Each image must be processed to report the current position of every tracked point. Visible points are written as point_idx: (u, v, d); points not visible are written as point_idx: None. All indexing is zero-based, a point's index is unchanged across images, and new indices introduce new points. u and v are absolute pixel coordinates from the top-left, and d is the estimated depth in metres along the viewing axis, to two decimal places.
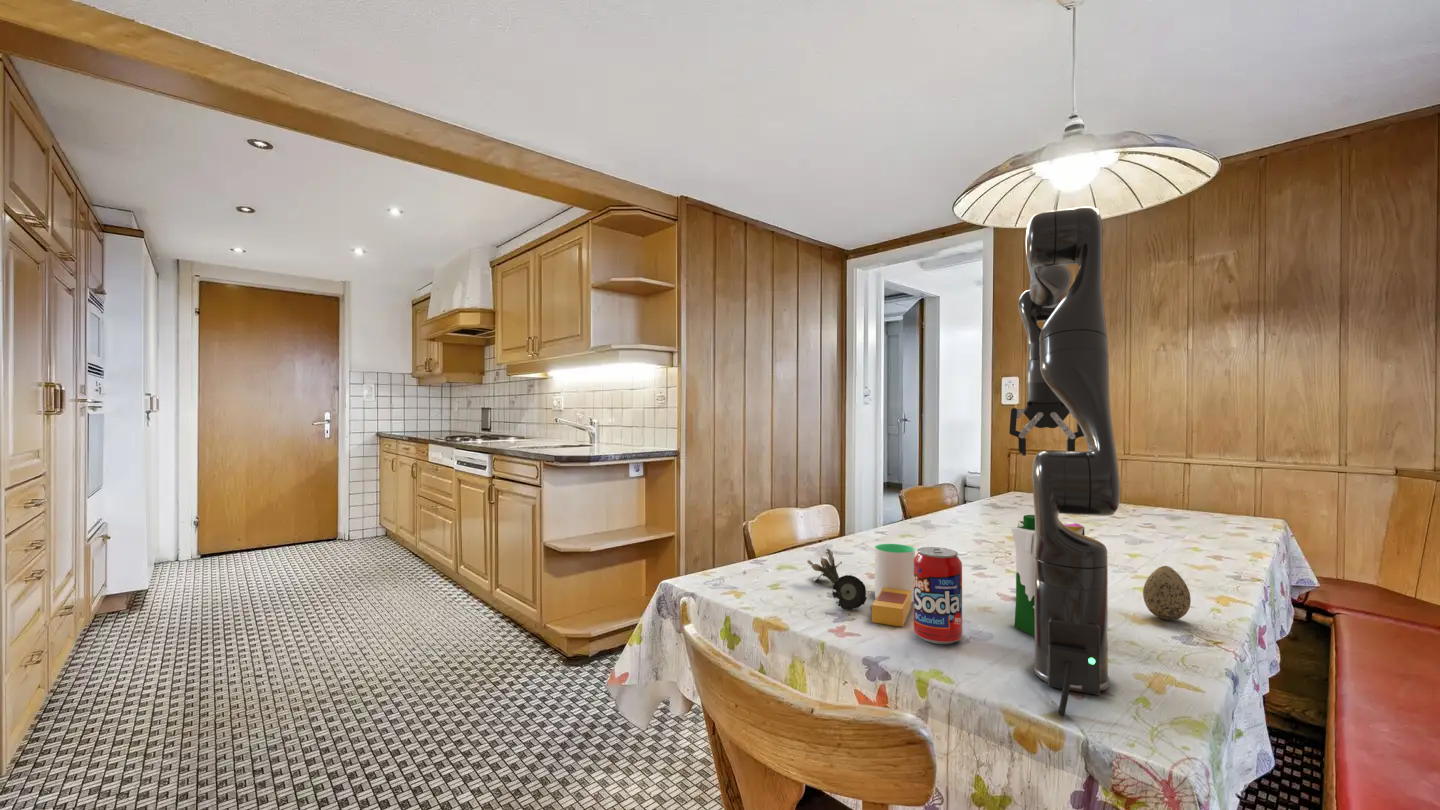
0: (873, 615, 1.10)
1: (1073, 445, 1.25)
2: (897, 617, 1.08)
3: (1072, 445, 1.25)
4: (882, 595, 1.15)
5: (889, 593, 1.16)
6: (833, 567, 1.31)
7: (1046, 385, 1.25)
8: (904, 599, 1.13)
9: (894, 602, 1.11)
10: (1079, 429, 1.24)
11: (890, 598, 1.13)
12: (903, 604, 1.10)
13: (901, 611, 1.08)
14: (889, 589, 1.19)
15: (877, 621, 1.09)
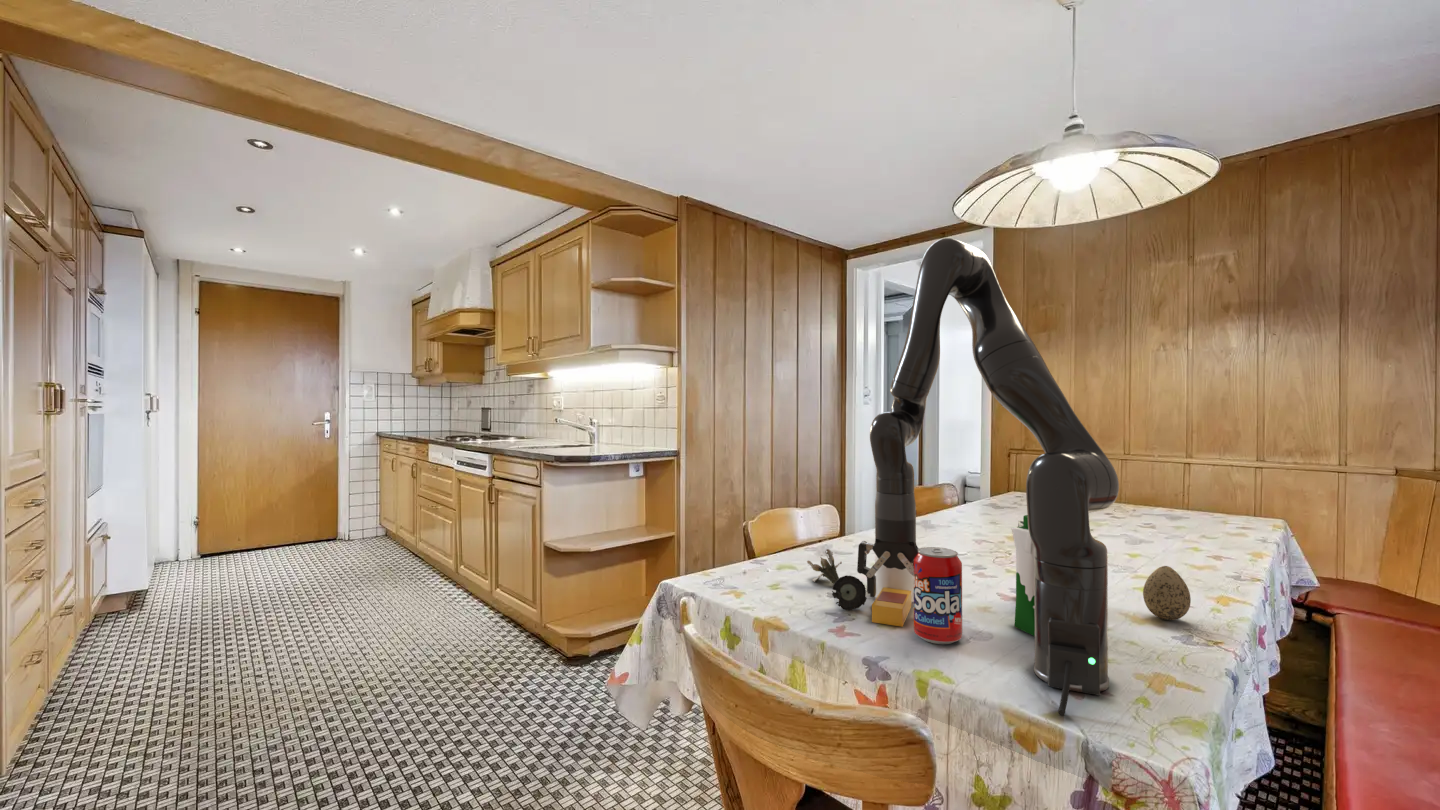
0: (873, 615, 1.10)
1: None
2: (897, 617, 1.08)
3: None
4: (882, 595, 1.15)
5: (889, 593, 1.16)
6: (833, 567, 1.31)
7: (891, 524, 1.11)
8: (904, 599, 1.13)
9: (894, 602, 1.11)
10: None
11: (890, 598, 1.13)
12: (903, 604, 1.10)
13: (901, 611, 1.08)
14: (889, 589, 1.19)
15: (877, 621, 1.09)
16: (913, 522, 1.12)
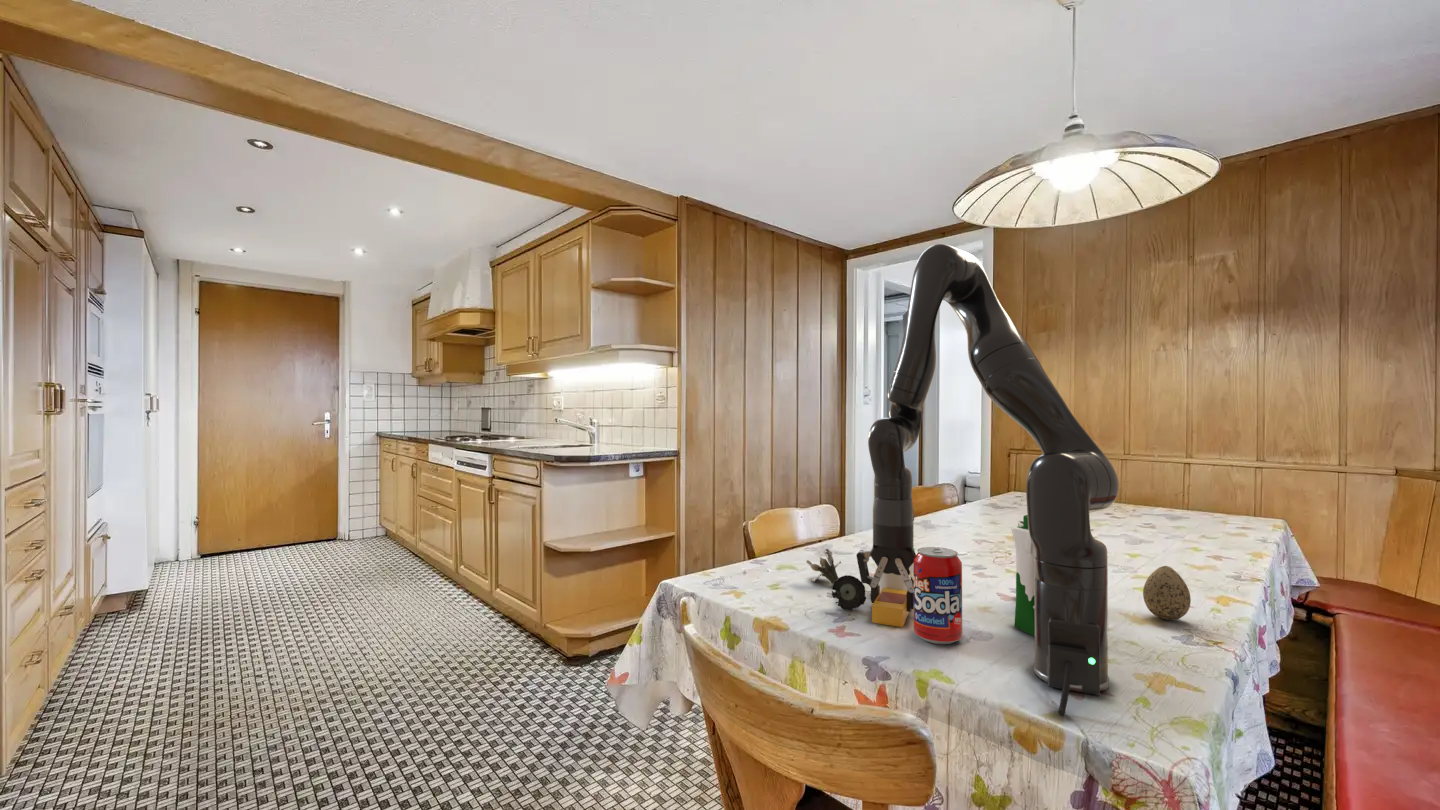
0: (873, 615, 1.10)
1: (912, 599, 1.12)
2: (898, 617, 1.08)
3: (911, 599, 1.12)
4: (882, 595, 1.15)
5: (889, 593, 1.16)
6: (832, 567, 1.31)
7: (889, 530, 1.11)
8: (904, 599, 1.13)
9: (894, 602, 1.11)
10: None
11: (890, 598, 1.13)
12: (903, 604, 1.10)
13: (901, 611, 1.08)
14: (888, 589, 1.19)
15: (877, 621, 1.09)
16: (911, 528, 1.12)
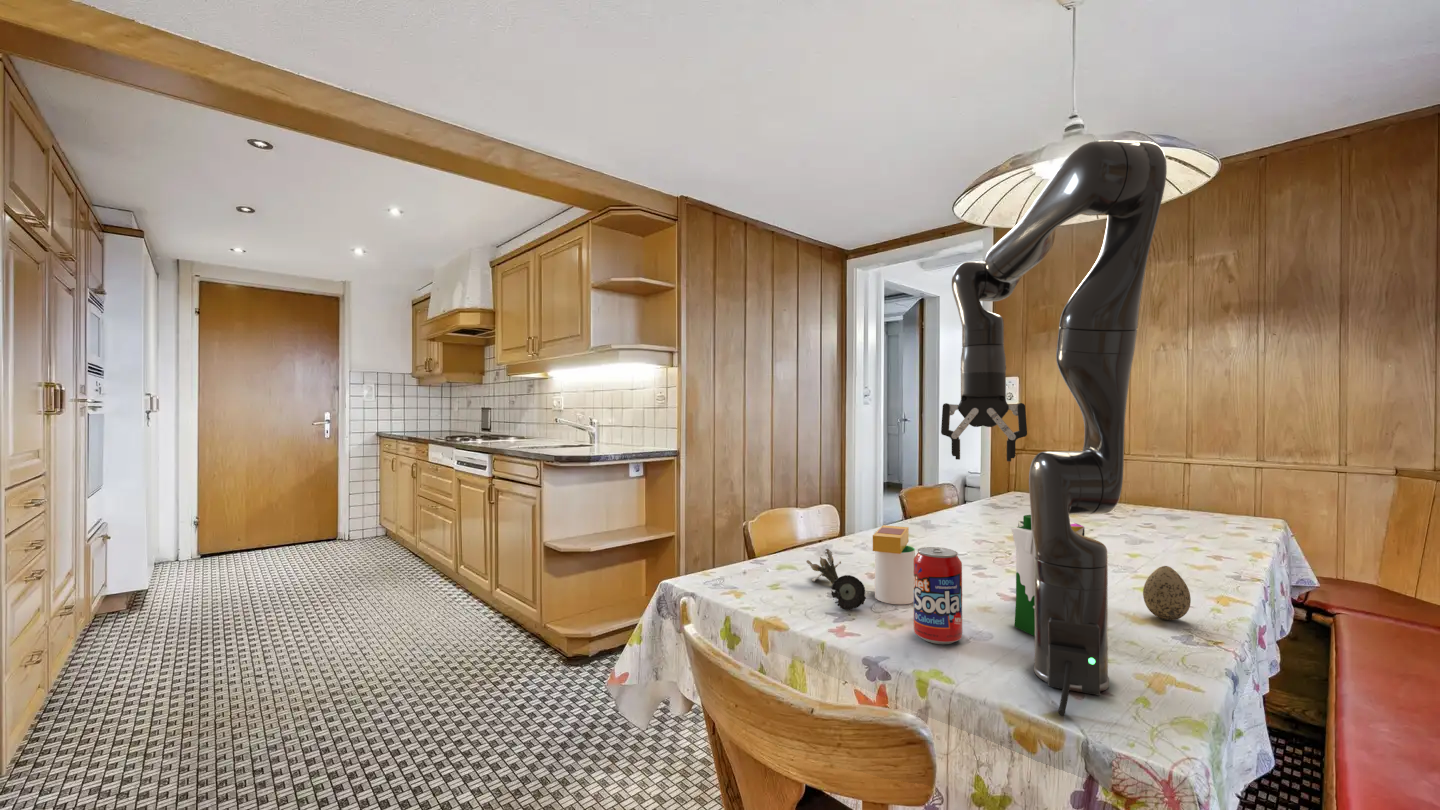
0: (874, 545, 1.21)
1: (1013, 447, 1.06)
2: (896, 545, 1.19)
3: (1011, 447, 1.06)
4: (882, 529, 1.26)
5: (888, 528, 1.28)
6: (832, 567, 1.31)
7: (981, 376, 1.05)
8: (902, 532, 1.24)
9: (893, 534, 1.22)
10: (1020, 428, 1.05)
11: (889, 531, 1.25)
12: (901, 535, 1.21)
13: (899, 540, 1.19)
14: (888, 526, 1.31)
15: (877, 550, 1.21)
16: (1004, 375, 1.06)
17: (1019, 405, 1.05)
